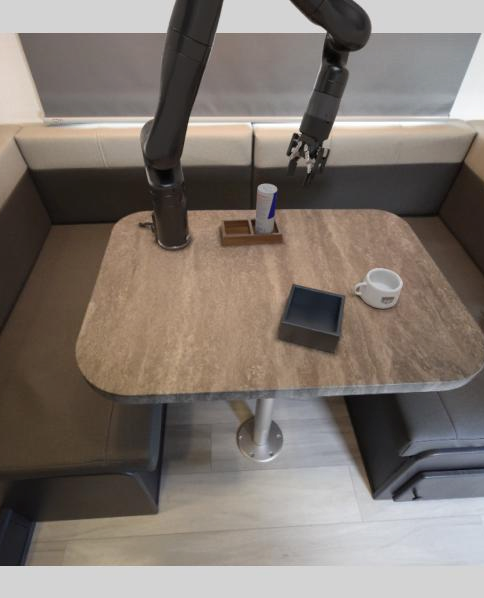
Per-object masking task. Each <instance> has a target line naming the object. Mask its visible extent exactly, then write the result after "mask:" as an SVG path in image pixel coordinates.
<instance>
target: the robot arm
mask: <svg viewBox="0 0 484 598" xmlns="http://www.w3.org/2000/svg"><path fill="white" fill-rule="evenodd" d="M224 1H225V0H175V2H174V5H173V8H172V11H171V14H170V18H169V22H168V26H167V30H166V34H165V39H164V43H163V48H162V53H161V63H160V73H159V92H158V100H157V106H156V109H155V113H154V116H153V118H151V119H149V120H147V122H145V123H144V125H143V126H142V128H141V130H140V134H139V141H140V148H141V153H142V159H143V164H144V169H145V175H146V180H147V184H148V189H149V190H148V191H149V194H150V201H151V206H152V212H151V215H150V216H151V222H149V221H147V222H141V221H140V222H139V223H138V226H140V227H146V226H150V231H151V233H152V234H154V237H155V242H157V243H158V244H159V246H160V247H161V248H163V249H166V250H169V251H177V250H181V249H184V248H185V247H187V246H188V245H189V244H190V243H191V232H190V228H189V227H190V225H189V216H188V205H187V197H186V188H185V187H186V186H185V185H186V184H185V177H184V176H185V175H184V172H183V168H182V160H181V158H182V156H183V152H184V149H185V143H186V136H187V133H188V127H189V123H190V117H191V115H192V110H193V108H194V106H195V103H196V99H197V96H198V94H199V90H200V87H201V84H202V81H203V78H204V75H205V72H206V70H207V67H208V64H209V61H210V57H211V54H212V51H213V47H214V44H215V39H216V35H217V32H218V27H219V24H220V20H221V16H222V12H223V6H224ZM288 1H289V2H290V3H291V4H292V5H293V7H294V8H296V10H298V11H299V12H300V14H301V15H303V17H305V19H306V20H308V21H309V22H310V23H312V24H313V25H314V26H318V27H320V28H322V29H323V30H325V31H326V32H325V36H324V39H323V43H322V44H323V45H322V52H321V57H320V66H319V70H318V73H317V75H316V78H315V81H314V85H313V87H312V91H311V93H310V95H309V98H308V100H307V103H306V106H305V109H304V113H303V115H302V118H301V122H300V124H299V128H298V131H299V133H297V132H293V133H292V135H291V138H290V141H289V144H288V147H287V149H286V154H285V155H286V156H287V157H288V161H289V162H288V164H287V168H286V172H285V175H286V176H288V177H293V176H294V175H295V173H296V170H297V167H298V162H299V161H300V160H301V159H302V158H303V159H304V160H305V161H304V162H305V164H306V169H307V172H306V173H305V176H304V178H303V181H302V184H301V187H302V188H303V189H310V188H311V187H312V184H313V182H314V180H315V177H316V175H323V173H324V171H325V167H326V165H327V162H328V159H329V156H330V153H331V149H330V148H326V147H324V146H323V145H324V142H325V141H327V140H328V139H329V137H330V135H331V132H332V130H333V126H334V123H335V121H336V118H337V116H338V112H339V110H340V107H341V102H342V99H343V96H344V93H345V90H346V88H347V86H348V85H347V84H348V83H349V79H350V74H351V73H350V70H349V68H348V62H349V57H350V54H351V53H355V52H358V51H360V50H362V49H364V47H365V46H367V44H368V42H369V41H370V39H371V36H372V31H373V27H372V21H371V18H370V16H369V14H368V13H367V12H366V10H365V9H364V8H363V7H362V6H361V5H360V4H358V3H357V2H356V1H355V0H288Z"/></svg>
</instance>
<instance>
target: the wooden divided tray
mask: <svg viewBox="0 0 484 598" xmlns="http://www.w3.org/2000/svg"><path fill="white" fill-rule="evenodd" d="M255 219H256V217H254V218H253V217H252V218H231V219H229V218H228V219H220V229H221V230H220V231H221V238H222V245H223V246H238V245H258V244H259V245H261V244H278V243H282V240H283V233H282V230H281V226H280V223H279V221H278V218H277V217H276V216H275V218H274V228H273V233H267V234H256V233H255Z"/></svg>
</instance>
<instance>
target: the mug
mask: <svg viewBox="0 0 484 598" xmlns="http://www.w3.org/2000/svg"><path fill="white" fill-rule="evenodd" d="M403 285H404V283H403V279H402V277H401V276H400V275H399V274H398V273H396V272H395V271H393V270H391V269H388V268H383V267H376V268H373V269H370V270H369V271H368V272H367V273H366V275H365V277H364V279H363V280H362V282H358V283H357V284H355V285H354V286H353V288H352V293H353V294H354V295H356V296H359V297H360V298H361V300H362V301H363V302H364V303H365V304H367V305H368V306H370V307H373V308H374V309H375V308H376V309H379V310H380V309H381V310H385V309H390V308H393V307H394V306H395V305H396V304H397V303H398V300H399V299H400V294H401V292H402V289H403ZM357 289H358V291H357Z"/></svg>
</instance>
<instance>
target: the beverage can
mask: <svg viewBox="0 0 484 598" xmlns="http://www.w3.org/2000/svg"><path fill="white" fill-rule="evenodd" d="M277 197H278V187H277V186H276V185H274V184H272V183H262V184H259V185H258V186H257V191H256V203H255V204H256V207H255V218H256V219H255V233H256V234H267V233H273V228H274V218H275V217H276V209H277V208H276V207H277Z"/></svg>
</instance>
